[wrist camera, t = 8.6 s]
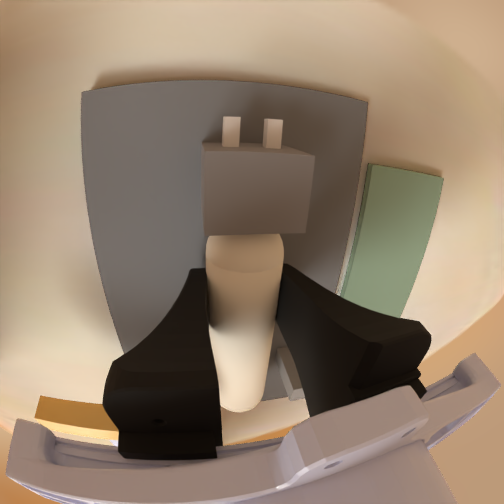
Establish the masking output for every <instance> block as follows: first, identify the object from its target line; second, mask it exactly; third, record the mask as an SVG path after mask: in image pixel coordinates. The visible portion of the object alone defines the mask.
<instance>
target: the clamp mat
mask: <svg viewBox="0 0 504 504" xmlns="http://www.w3.org/2000/svg"><path fill="white" fill-rule="evenodd" d="M367 107H368V102H365V101H362V100H358V99H354V98H350V97H345V96H341V95H336V94H332V93H327V92H322V91H316V90H311V89H305V88H299V87H292V86H285V85H277V84H268V83H257V82H244V81H226V80H177V81H159V82H146V83H136V84H127V85H120V86H113V87H106V88H100V89H95V90H89V91H84V92H82V98H81V141H82V161H83V174H84V184H85V193H86V201H87V209H88V216H89V222H90V228H91V234H92V239H93V244H94V249H95V254H96V259H97V263H98V268H99V272H100V276H101V280H102V284H103V288H104V292H105V296H106V299H107V303H108V306H109V310H110V313H111V316H112V319H113V323H114V326H115V329H116V332H117V335H118V338H119V341H120V343H121V346H122V349H123V352H124V354H125V353H127V352H128V351H130V350H131V349H132V348H134V347H135V346H136V345H138V344H139V343H140V342H141V341H142V340H143V339H144V338H146V337H147V336H148V335H149V334H150V333H151V332H152V331H153V330H154V329H155V327H156V326H157V325H158V324H159V323H160V322H161V321H162V319H163V318H164V317H165V316H166V314H167V313H168V312H169V310H170V309H171V307H172V306H173V304H174V302H175V301H176V299H177V298H178V296H179V294H180V292H181V290H182V288H183V286H184V284H185V282H186V279H187V277H188V274H189V270H191V269H192V268H206V244H207V240H208V237H209V236H204V228H203V220H202V210H201V142H222V131H223V117H241V119H240V137H239V143H263V132H264V119H278V120H283V126H282V139H281V145H285V146H288V147H291V148H294V149H297V150H300V151H303V152H305V153H308V154H311V155H314V156H315V163H314V171H313V180H312V188H311V196H310V204H309V211H308V219H307V226H306V233H286V234H279V235H280V237H281V239H282V242H283V247H284V259H283V264H286V263H287V264H289V265H291V266H293V267H294V268H296V269H297V270H299V271H300V272H302V273H303V274H305V275H306V276H307V277H309V278H310V279H312V280H313V281H315V282H316V283H318V284H320V285H321V286H323V287H324V288H326V289H328V290H329V291H331V292H333V293H335V291H336V287H337V283H338V279H339V275H340V271H341V267H342V263H343V258H344V254H345V250H346V245H347V240H348V236H349V231H350V226H351V221H352V216H353V210H354V205H355V199H356V193H357V187H358V181H359V175H360V168H361V161H362V154H363V146H364V137H365V128H366V118H367ZM283 397H289V400H290V401H293V400H298V399H303V398H305V395H304V392H303V388H302V385H301V381H300V378H299V375H298V372H297V369H296V365H295V363H294V360H293V358H292V355H291V353H290V351H289V349H288V346H287V344H286V342H285V340H284V338H283V336H282V333H281V331H280V329H279V327H278V324H277V322H276V320H275V325H274V332H273V338H272V345H271V351H270V357H269V364H268V370H267V376H266V382H265V388H264V393H263V396H262V399H261V401H265V400H271V399H277V398H283ZM220 406H221V405H220Z"/></svg>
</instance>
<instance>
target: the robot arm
mask: <svg viewBox="0 0 504 504" xmlns="http://www.w3.org/2000/svg"><path fill="white" fill-rule="evenodd" d="M275 320H276V322H277V324H278V327H279V329H280V331H281V333H282V336H283V338H284V340H285V342H286V344H287V346H288V349H289V351H290V353H291V355H292V358H293V360H294V363H295V365H296V369H297V372H298V375H299V378H300V381H301V385H302V388H303V392H304V395H305V399H306V403H307V407H308V411H309V415H310V418H308V419H306V420H304V421H303V422H301V423H299V424H297V425H296V426H294V427H293V428H292V429H291V430H290V431H289V432H288V433H287V434H286V436H284V437H280V438H275V439H269V440H263V441H257V442H251V443H244V444H236V445H227V446H223V442H222V424H221V409H220V393H219V382H218V376H217V370H216V365H215V361H214V356H213V351H212V346H211V340H210V334H209V313H208V289H207V274H206V268H192V269H191V270H189V274H188V277H187V279H186V282H185V284H184V286H183V288H182V290H181V292H180V294H179V296H178V298H177V299H176V301H175V302H174V304H173V306H172V307H171V309H170V310H169V312H168V313H167V314H166V316H165V317H164V318H163V319H162V321H161V322H160V323H159V324H158V325H157V326H156V327H155V329H154V330H153V331H152V332H151V333H150V334H149V335H148V336H147V337H146V338H144V339H143V340H142V341H141V342H140V343H139V344H138V345H136V346H135V347H134V348H132V349H131V350H130V351H128V352H127V353H125V354H124V355H122V356H121V357H119V358H118V359H116V360H114V361H113V362H112V365H111V367H110V370H109V373H108V376H107V379H106V383H105V388H104V395H103V404H102V405H103V408H104V410H105V412H106V413H107V415H108V416H109V418H110V419H111V420H112V422H113V423H114V424H115V426H116V427H117V429H118V430H119V436H118V440H110V441H111V443H112V444H113V445H114V446H109V445H101V444H93V443H87V442H80V441H75V440H69V439H64V438H60V437H55V435H54V434H53V433H52V432H51V431H50V430H49V429H48V428H47V427H45V426H43V425H41V424H38V423H34V422H30V421H27V420H23V419H20V418H18V419H17V420H16V424H15V428H14V432H13V436H12V441H11V445H10V450H9V456H8V461H7V468H6V475H7V477H9V478H10V479H12V480H14V481H15V482H17V483H19V484H20V485H22V486H24V487H26V488H28V489H30V490H31V491H33V492H35V493H37V494H39V495H41V496H43V497H45V498H47V499H50V500H53V501H56V502H59V503H62V504H458V503H457V501H456V499H455V497H454V495H453V493H452V491H451V490H450V488H449V486H448V484H447V482H446V480H445V479H444V477H443V475H442V473H441V471H440V470H439V468H438V466H437V464H436V463H435V461H434V459H433V457H432V456H431V454H430V452H429V449H431V448H432V447H434V446H435V445H437V444H438V443H439V442H441V441H442V440H443V439H445V438H446V437H448V436H449V435H450V434H452V433H453V432H454V431H455V430H457V429H458V428H460V427H461V426H462V425H463V424H464V423H466V422H467V421H468V420H470V419H471V418H472V417H473V416H474V415H475V414H476V413H477V412H478V411H479V410H480V409H481V408H482V407H483V406H484V405H485V404H486V403H487V401H489V399H490V398H491V397H492V396H493V395H494V394H495V393H496V391H497V390H498V389H499V388H500V387H501V383H500V382H499V381H498V380H497V379H496V377H495V376H494V375H493V374H492V372H491V371H490V370H489V369H488V367H487V366H486V365H485V364H484V363H483V362H482V360H481V359H480V358H479V357H478V356H477V355H476V354H475V353H473V354H471V355H470V356H468V357H466V358H465V359H463V360H462V361H461V362H460V363H459V364H458V365H457V366H456V368H455V369H454V371H453V373H452V374H450V375H448V376H447V377H445V378H443V379H441V380H439V381H437V382H435V383H434V384H431V385H430V386H428V387H426V388H425V387H424V386H423V384H422V383H421V381H420V380H419V379H418V378H419V377H420V376H421V373H420V371H419V370H418V369H417V367H418V366H419V364H420V363H421V361H422V360H423V358H424V356H425V355H426V353H427V351H428V349H429V347H430V344H431V334H430V333H429V332H428V331H427V330H426V329H425V327H424V326H423V325H422V324H421V323H420V322H419V321H414V320H409V319H403V318H398V317H394V316H390V315H386V314H382V313H379V312H376V311H373V310H370V309H368V308H365V307H362V306H360V305H357V304H355V303H353V302H351V301H348V300H346V299H344V298H342V297H340V296H338V295H336V294H335V293H333V292H331V291H329V290H328V289H326V288H324V287H323V286H321V285H320V284H318V283H316V282H315V281H313V280H312V279H310V278H309V277H307V276H306V275H305V274H303V273H302V272H300V271H299V270H297V269H296V268H294V267H293V266H291V265H289V264H287V263H286V264H283V267H282V275H281V282H280V290H279V297H278V304H277V311H276V318H275Z"/></svg>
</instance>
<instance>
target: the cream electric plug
mask: <svg viewBox="0 0 504 504" xmlns="http://www.w3.org/2000/svg"><path fill="white" fill-rule="evenodd" d="M240 119H241V117H223V131H222V142H201V210H202V220H203V228H204V236H209V237H208V240H207V244H206V274H207V289H208V313H209V334H210V340H211V346H212V351H213V356H214V361H215V365H216V370H217V376H218V382H219V393H220V405H221V406H222V407H223V408H225V409H227V410H229V411H232V412H245V411H248V410H251V409H253V408H254V407H255V406H256V405H257V404H258V403H259V402H260V401H261V399H262V396H263V393H264V388H265V382H266V376H267V370H268V364H269V357H270V351H271V345H272V338H273V332H274V325H275V318H276V311H277V304H278V297H279V290H280V282H281V275H282V267H283V259H284V247H283V242H282V239H281V237H280V235H279V234H286V233H306V226H307V219H308V211H309V204H310V196H311V188H312V180H313V171H314V163H315V156H314V155H311V154H308V153H305V152H303V151H300V150H297V149H294V148H291V147H288V146H285V145H281V139H282V126H283V120H278V119H264V132H263V143H239V137H240Z"/></svg>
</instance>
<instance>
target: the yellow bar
mask: <svg viewBox="0 0 504 504" xmlns="http://www.w3.org/2000/svg"><path fill="white" fill-rule="evenodd" d="M35 419H36V420H37V421H38V422H39V423H40V424H41V425H43V426H45V427H47V428H48V429H49V430H54V431H58V432H63V433H68V434H74V435H79V436H86V437H93V438H100V439H109V440H118V436H119V430H118V429H117V427H116V426H115V424H114V423H113V422H112V420H111V419H110V418H109V416H108V415H107V413H106V412H105V410H104V408H103V405H102V404H94V403H85V402H77V401H69V400H63V399H56V398H50V397H45V396H40V399H39V403H38V406H37V410H36V414H35Z"/></svg>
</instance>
